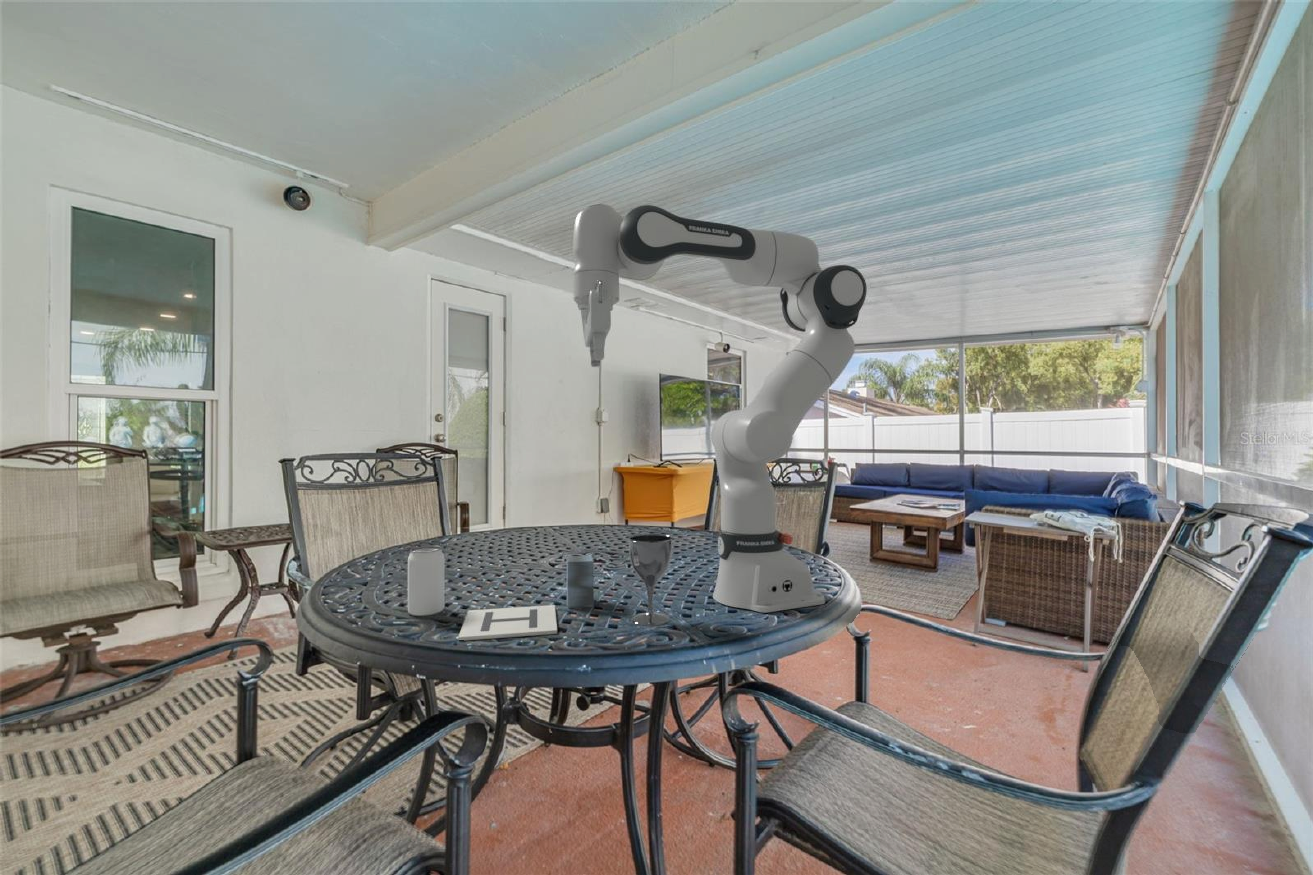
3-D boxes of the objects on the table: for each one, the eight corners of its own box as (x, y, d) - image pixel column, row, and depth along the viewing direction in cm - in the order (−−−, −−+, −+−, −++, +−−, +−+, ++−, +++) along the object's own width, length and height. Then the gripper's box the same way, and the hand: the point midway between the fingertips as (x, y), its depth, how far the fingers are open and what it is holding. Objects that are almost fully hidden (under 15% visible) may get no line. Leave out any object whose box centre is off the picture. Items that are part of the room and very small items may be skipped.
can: (431, 618, 103) (431, 553, 103) (400, 615, 104) (400, 551, 104) (451, 607, 109) (451, 546, 109) (421, 605, 110) (421, 544, 110)
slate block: (591, 599, 115) (591, 555, 114) (593, 606, 110) (593, 561, 110) (566, 600, 114) (566, 556, 113) (567, 608, 109) (567, 562, 109)
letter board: (554, 608, 109) (554, 604, 109) (557, 633, 95) (557, 629, 95) (468, 613, 105) (468, 610, 105) (458, 640, 92) (458, 637, 92)
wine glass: (621, 623, 100) (621, 539, 100) (639, 610, 108) (639, 532, 107) (663, 629, 97) (663, 543, 97) (678, 615, 105) (678, 535, 104)
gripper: (618, 276, 98) (619, 355, 98) (608, 305, 119) (608, 370, 118) (582, 275, 97) (583, 354, 97) (578, 304, 117) (578, 369, 117)
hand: (597, 363), depth 108 cm, fingers open, 8 cm apart
